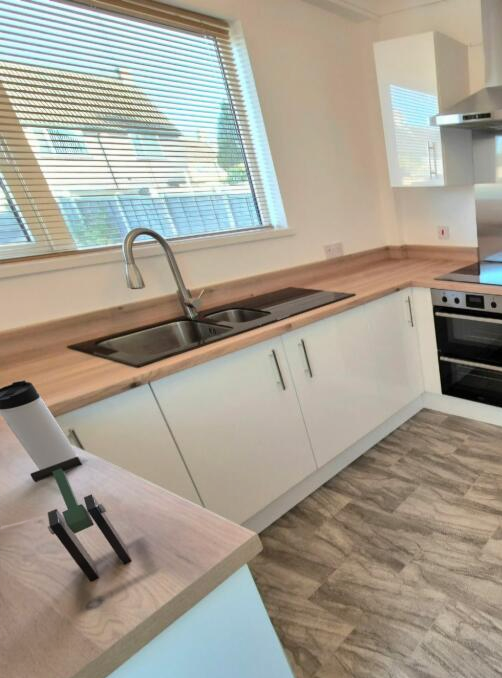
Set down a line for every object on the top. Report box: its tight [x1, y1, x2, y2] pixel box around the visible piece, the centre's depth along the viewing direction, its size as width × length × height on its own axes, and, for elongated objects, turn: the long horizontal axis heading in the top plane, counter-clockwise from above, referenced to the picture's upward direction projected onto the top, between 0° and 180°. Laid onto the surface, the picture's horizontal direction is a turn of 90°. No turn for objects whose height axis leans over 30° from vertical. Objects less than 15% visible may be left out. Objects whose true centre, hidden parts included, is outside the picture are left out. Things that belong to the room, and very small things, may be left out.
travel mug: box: [0, 380, 81, 473], centre depth 90 cm, size 6×7×20 cm
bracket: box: [47, 493, 132, 583], centre depth 65 cm, size 10×8×13 cm
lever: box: [30, 455, 94, 534], centre depth 65 cm, size 13×6×2 cm, turn 49°
